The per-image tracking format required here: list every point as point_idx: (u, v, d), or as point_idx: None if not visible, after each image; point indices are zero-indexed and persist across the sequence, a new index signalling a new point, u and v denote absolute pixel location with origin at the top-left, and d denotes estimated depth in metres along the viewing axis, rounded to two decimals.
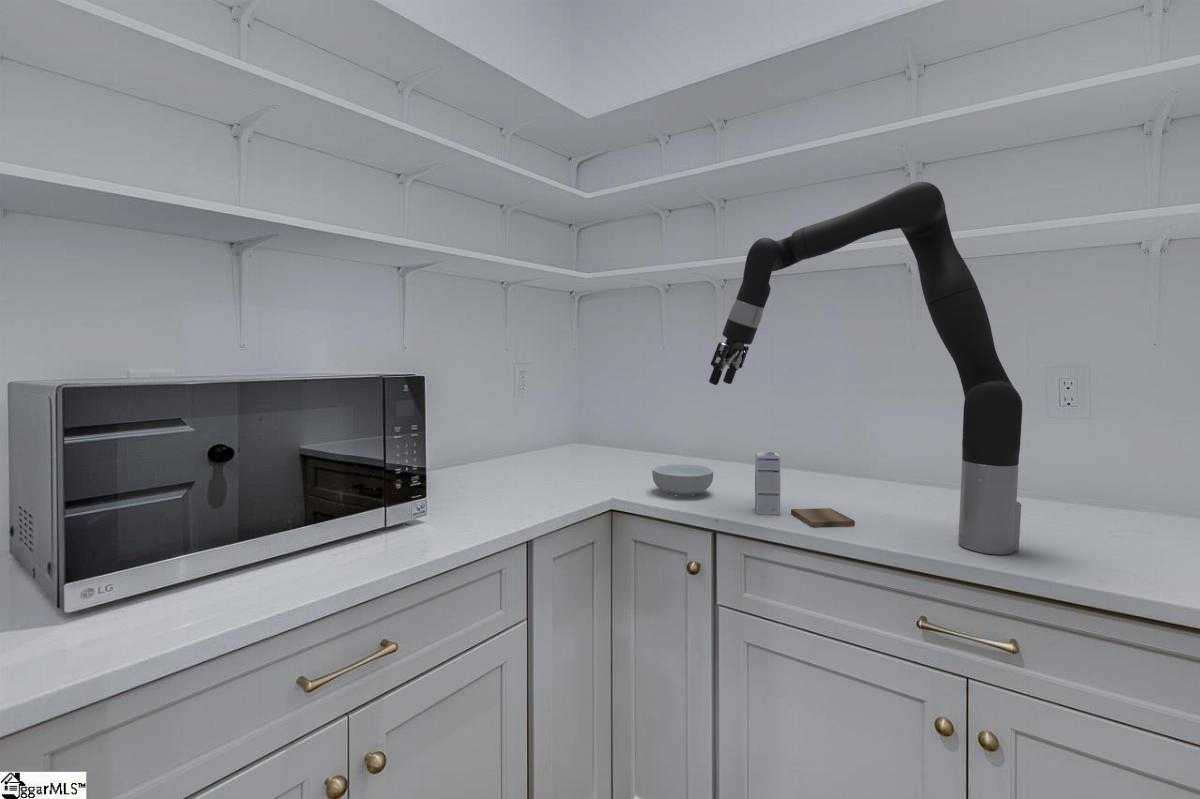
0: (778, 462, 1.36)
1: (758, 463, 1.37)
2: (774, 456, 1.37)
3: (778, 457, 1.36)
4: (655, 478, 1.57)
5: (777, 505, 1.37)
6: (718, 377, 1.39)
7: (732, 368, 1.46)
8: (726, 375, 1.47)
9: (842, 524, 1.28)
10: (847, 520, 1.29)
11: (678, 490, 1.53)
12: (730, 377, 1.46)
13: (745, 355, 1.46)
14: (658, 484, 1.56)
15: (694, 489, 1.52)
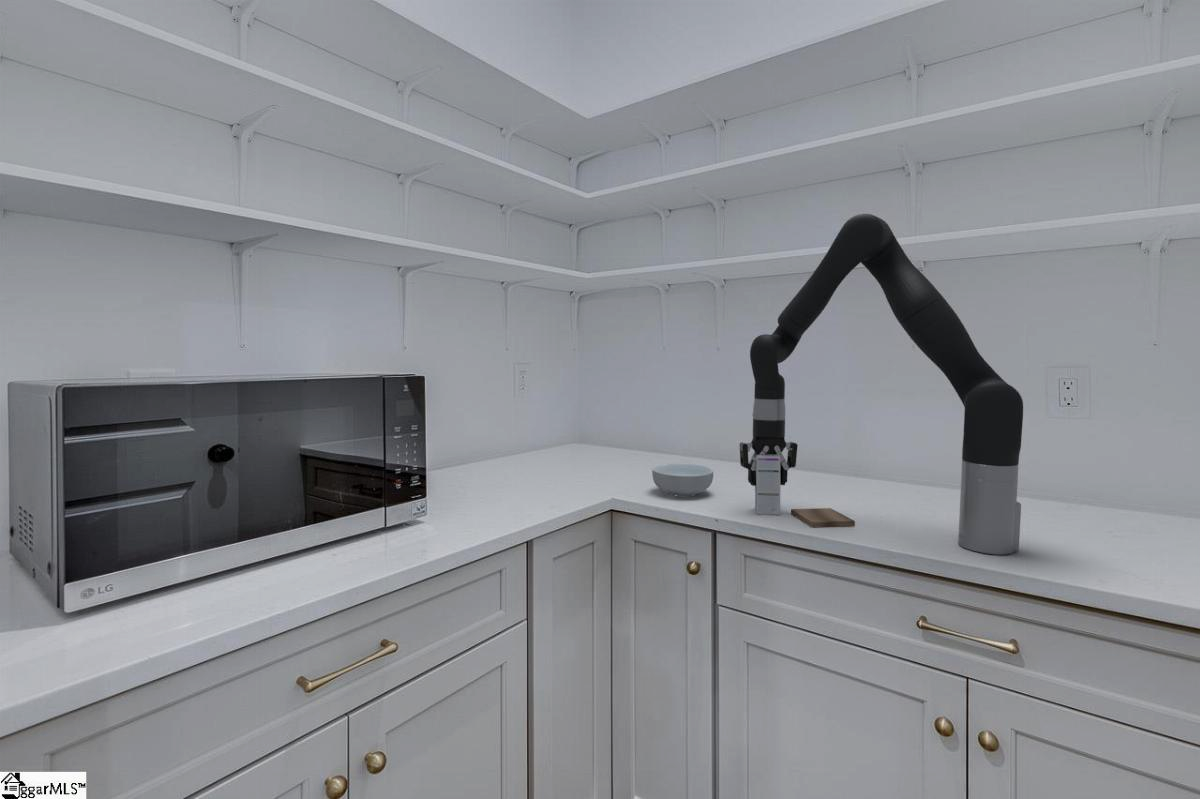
0: (778, 462, 1.36)
1: (758, 463, 1.37)
2: (774, 456, 1.37)
3: (778, 457, 1.36)
4: (655, 478, 1.57)
5: (777, 505, 1.37)
6: (753, 477, 1.39)
7: (781, 468, 1.40)
8: None
9: (842, 524, 1.28)
10: (847, 520, 1.29)
11: (678, 490, 1.53)
12: (781, 478, 1.40)
13: (794, 453, 1.39)
14: (658, 484, 1.56)
15: (694, 489, 1.52)
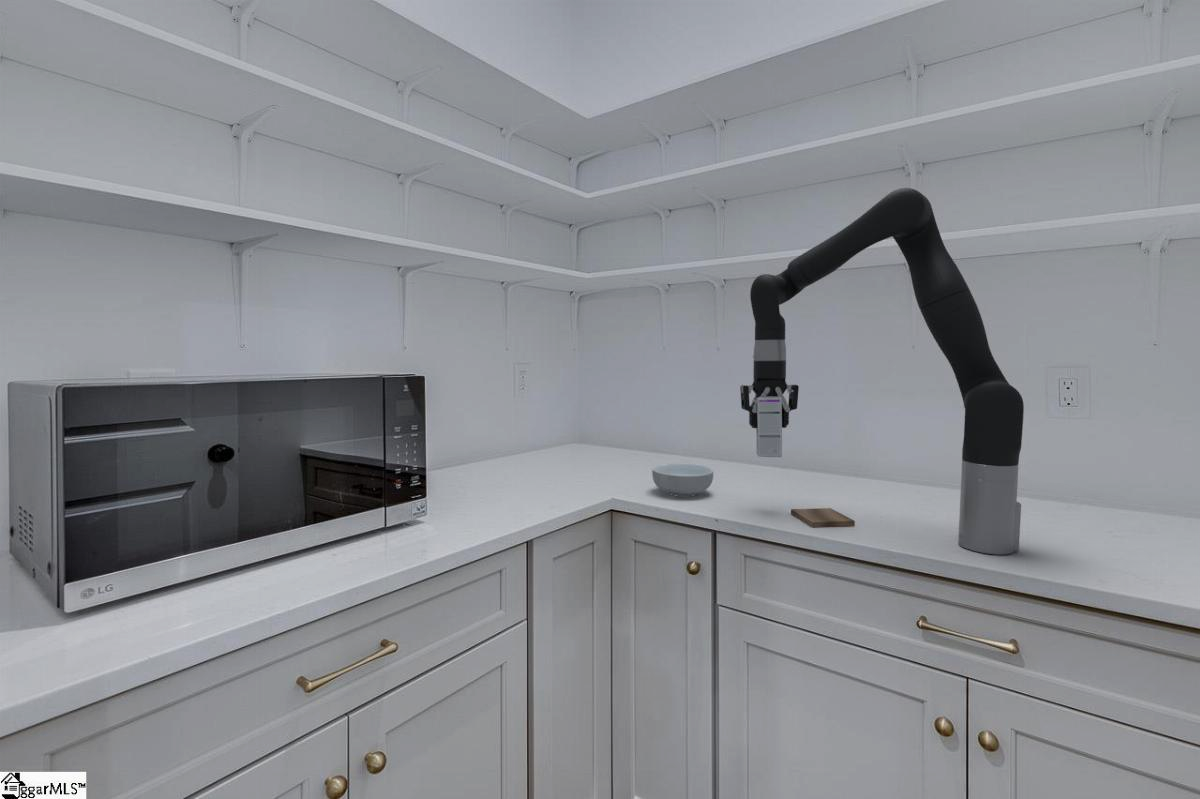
0: (779, 403, 1.35)
1: (759, 405, 1.36)
2: (775, 397, 1.36)
3: (779, 398, 1.35)
4: (655, 478, 1.57)
5: (779, 447, 1.36)
6: (754, 419, 1.38)
7: (783, 411, 1.39)
8: None
9: (842, 524, 1.28)
10: (847, 520, 1.29)
11: (678, 490, 1.53)
12: (783, 420, 1.39)
13: (796, 394, 1.38)
14: (658, 484, 1.56)
15: (694, 489, 1.52)
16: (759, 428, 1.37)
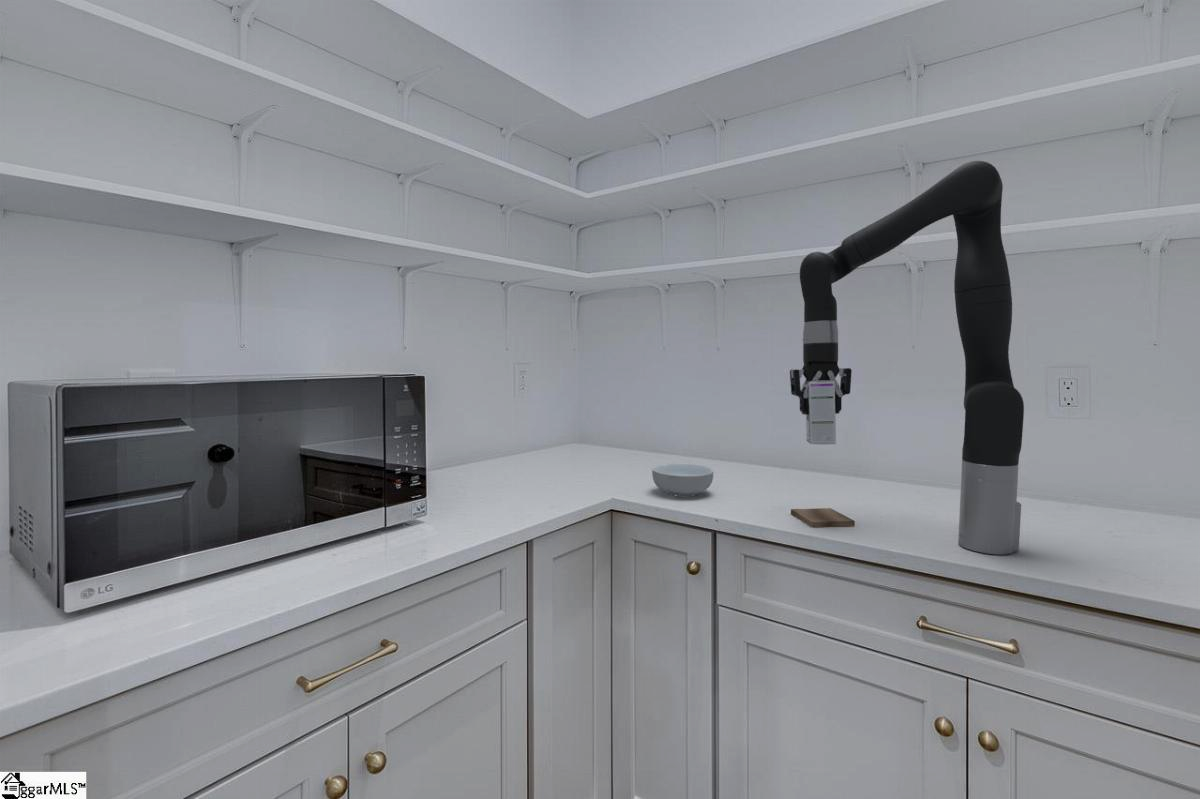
0: (832, 387, 1.29)
1: (810, 389, 1.30)
2: (828, 381, 1.29)
3: (832, 382, 1.29)
4: (655, 478, 1.57)
5: (833, 433, 1.29)
6: (805, 405, 1.31)
7: (835, 396, 1.32)
8: None
9: (842, 524, 1.28)
10: (847, 520, 1.29)
11: (678, 490, 1.53)
12: (835, 406, 1.32)
13: (849, 378, 1.31)
14: (658, 484, 1.56)
15: (694, 489, 1.52)
16: (811, 414, 1.30)
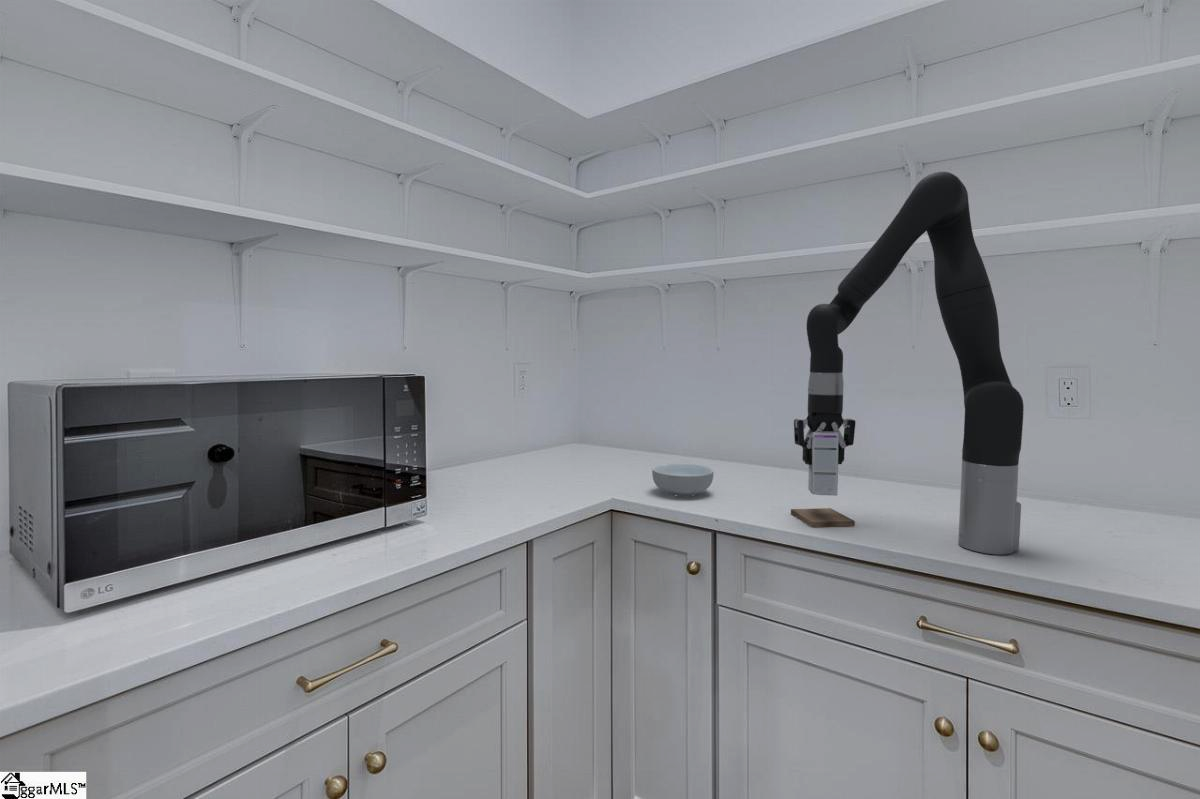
0: (836, 439, 1.29)
1: (814, 440, 1.30)
2: (832, 433, 1.29)
3: (836, 434, 1.29)
4: (655, 478, 1.57)
5: (835, 485, 1.30)
6: (808, 456, 1.31)
7: (838, 447, 1.33)
8: None
9: (842, 524, 1.28)
10: (847, 520, 1.29)
11: (678, 490, 1.53)
12: (838, 456, 1.32)
13: (852, 430, 1.31)
14: (658, 484, 1.56)
15: (694, 489, 1.52)
16: (814, 465, 1.30)
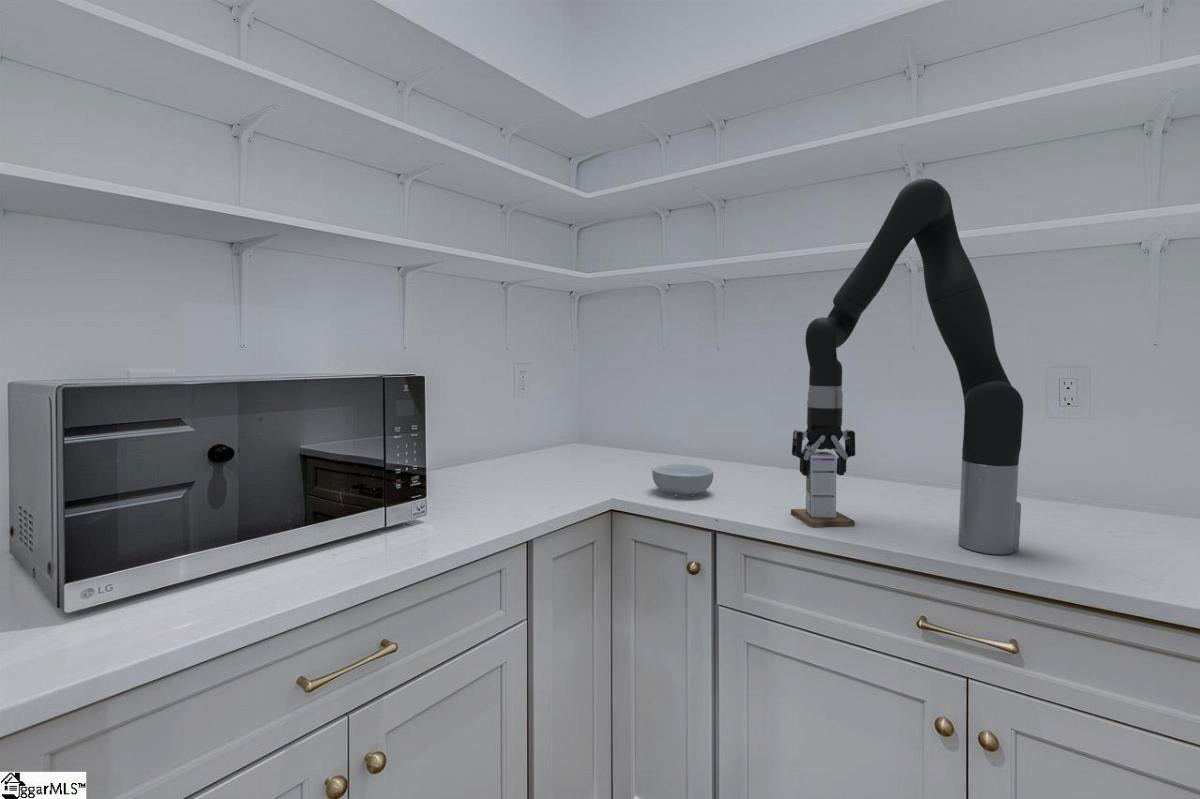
0: (834, 462, 1.29)
1: (812, 463, 1.30)
2: (830, 456, 1.30)
3: (834, 457, 1.29)
4: (655, 478, 1.57)
5: (833, 508, 1.30)
6: (805, 467, 1.31)
7: (840, 458, 1.33)
8: (837, 466, 1.34)
9: (842, 524, 1.28)
10: (847, 520, 1.29)
11: (678, 490, 1.53)
12: (840, 467, 1.33)
13: (853, 441, 1.32)
14: (658, 484, 1.56)
15: (694, 489, 1.52)
16: (812, 487, 1.31)
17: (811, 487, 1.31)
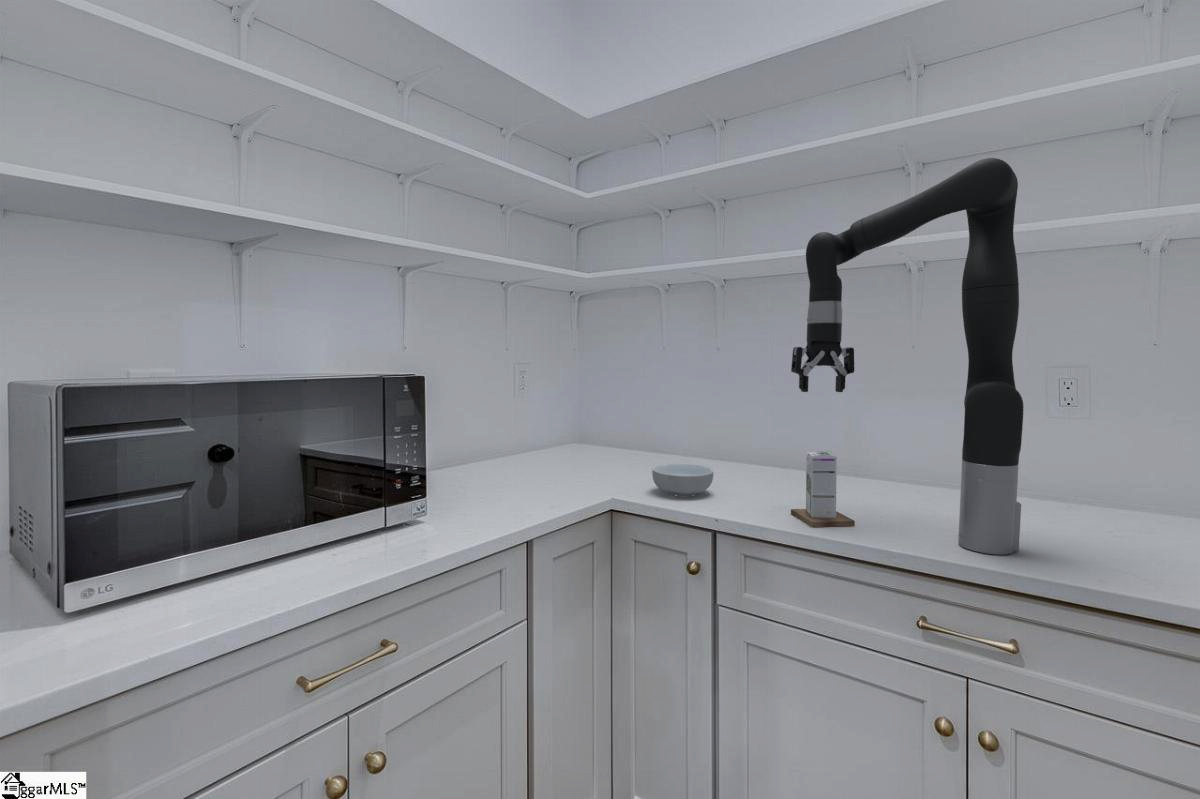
0: (834, 462, 1.29)
1: (812, 464, 1.30)
2: (830, 456, 1.30)
3: (834, 457, 1.29)
4: (655, 478, 1.57)
5: (833, 508, 1.30)
6: (805, 383, 1.32)
7: (839, 375, 1.34)
8: (836, 384, 1.35)
9: (842, 524, 1.28)
10: (847, 520, 1.29)
11: (678, 490, 1.53)
12: (839, 384, 1.34)
13: (852, 357, 1.33)
14: (658, 484, 1.56)
15: (694, 489, 1.52)
16: (812, 488, 1.30)
17: (811, 487, 1.31)
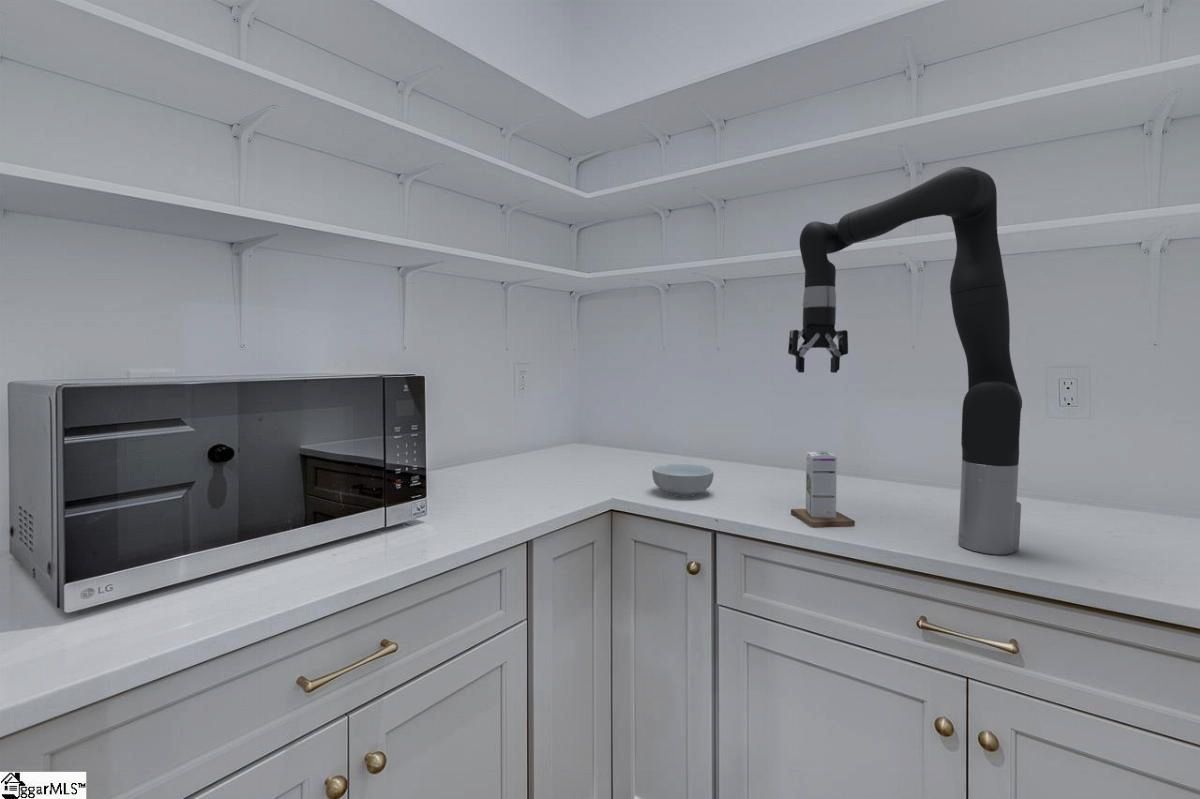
0: (834, 462, 1.29)
1: (812, 464, 1.30)
2: (830, 456, 1.30)
3: (834, 457, 1.29)
4: (655, 478, 1.57)
5: (833, 508, 1.30)
6: (801, 364, 1.40)
7: (833, 356, 1.41)
8: (831, 365, 1.42)
9: (842, 524, 1.28)
10: (847, 520, 1.29)
11: (678, 490, 1.53)
12: (833, 365, 1.41)
13: (845, 339, 1.40)
14: (658, 484, 1.56)
15: (694, 489, 1.52)
16: (812, 488, 1.30)
17: (811, 487, 1.31)
